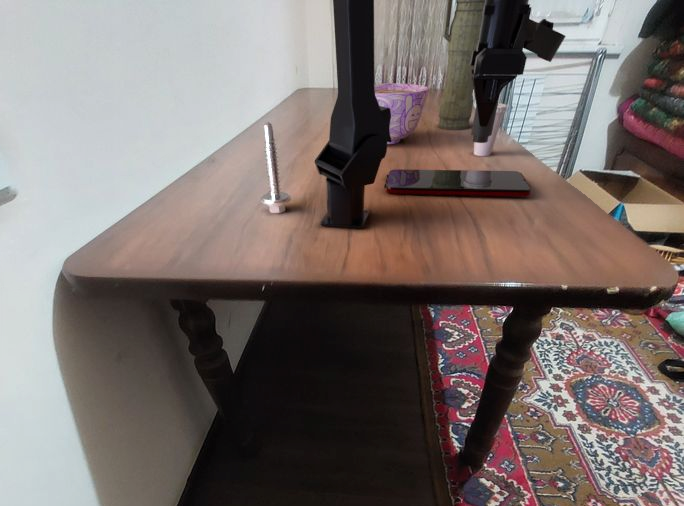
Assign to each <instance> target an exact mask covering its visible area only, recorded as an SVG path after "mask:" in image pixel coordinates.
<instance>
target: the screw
mask: <svg viewBox="0 0 684 506" xmlns="http://www.w3.org/2000/svg"><path fill="white" fill-rule="evenodd" d="M263 135H264V143H263V144H264V147H263V148H264V149H265V151H264V152H265V155H264V156H265V158H266V159H265V161H266V166H267V167H266V169H267V172H266V173H267V177H268V179H267V181H268V185H269V187H268V189H269V191H268V192H267V193H264V194H263V195H262V197H260V202H261V203H262V204H264V205H267V206H268V211H269V212H270V213H271V214H281V213H284V212H286V204H288V203H289V202H291V201H292V197H291V195H290V194H289V193H288V192H284V191H281V190H282V188H281V184H280V182H281V180H280V176H279V175H280V172H279V171H280V169H279V164H278V162H279V160H278V158H279V157H278V156H277V155H278V152H277V149H278V148H277V147H276V146H277V143H276V139H275V138H274V129H273V124H272V123H271V122H269V121H266V123H264V125H263Z"/></svg>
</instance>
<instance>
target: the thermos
mask: <svg viewBox="0 0 684 506" xmlns="http://www.w3.org/2000/svg"><path fill="white" fill-rule="evenodd" d="M453 2H454V1H453V0H446V9H445V10H446V11H445V18H444V26H443V35H442V36H443V38H444V39H445V40H446V41H447V42H448V43H447V55H448V57H447V65H446V73H445V81H444V88H443V93H442V96H441V98H440V103H439V104H440V105H439V113H438V118H439V119H438V125H437V127H438V128H439V129H444V130H455V131H458V130H466V129H468V128H469V127H470V120H471V117H472V113H473V108H474V107H473V106H474V100H475V99H474V88H473V81H472V75H471V69H474V67H475V65H474V66H471V65H470V63H471V56H472V51H473V50H474V49H475V48H476V47H477V42H478V40H479V34H480V28H481V23H482V17H483V16H482V11H483V6H484V5H485V0H455V5H456V6H455V10H454V13H453V14H454V15H453V18H452V21H451V16H452V8H453Z"/></svg>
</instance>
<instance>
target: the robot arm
mask: <svg viewBox="0 0 684 506" xmlns="http://www.w3.org/2000/svg"><path fill="white" fill-rule="evenodd" d="M529 1H530V0H485V5H484V6H483V11H482V16H483V17H482V23H481V28H480V34H479V40H478V42H477V47H476V48H475V49H474V50H473V51H472V56H471V63H470V65H471V66H474V65H475V67H474V69H471V75H472V81H473V88H474V89H473V95H474V100H475V105H476V104H477V110H478V117H479V124H480V126H481V127H486V126H487V125H488V123H489V120H490V118H491V115H492V113H493V110H494V108H495V106H496V103H497V101H498V98H499V99H500V97H501V94H502V91H503V89H504V88H505V87H506V86H507V85H509V84H510V83H511V82H512V81H513V80H515V79H516V78H517V77H518V76H522V75H524V72H525V68H526V63H527V58H528V57H527V56H526V54H525V52H524V50H527V51H529V52H531V53H533V54H535V55H536V56H537V57H538V58H540V59H541V60H544V61H546V62H549V63H551V62H552V60H554V57H555V56H556V54H557V52H558V51H559V49H560V47H561V45H562V44H563V42H564V40H565V38H566V35H564V34H563V33H560V32H559V31H557V30H554V24H555V23H554V22H552V21H550V20H547V18H542V19H541V20H540V21H539V22H538V21H535V20H533V19H532V18H530V17H531V12H532V7H531V4H530V3H529ZM332 6H333V8H332V9H333V28H334V45H335V62H336V63H335V64H336V78H337V97H336V101H335V104H334V106H333V110H332V112H331V116H330V123H329V137H328V138H329V139H328V141H327V143H326V144H325V145H324V147H323V148H322V149H321V151H320V152H319V154H318V155H317V156H316V157H315V158H314V165H315V168H316V170H317V173H318V175H320V176H324V177H325V191H326V193H325V195H326V213H325V215H324V216H323V217H322V219H321V221H320V226H321V227H330V228H331V227H332V228H345V229H346V228H347V229H357V230H362V229H363V228H364V227H365V225H366V222H367V220H368V218H369V216H370V210H367V209H365V193H366V191H365V190H366V186H370V185H373V184H375V181H376V177H377V175H378V172H379V170H380V166H381V163H382V161H383V159H385V157H386V155H387V151H388V144H387V142H391V141H392V140H391V137H390V130H389V128H390V120H391V111H390V108H387V107H383V106H379V103H378V101H377V98H376V95H375V84H376V83H375V80H376V79H375V77H376V76H375V0H332ZM499 96H500V97H499Z"/></svg>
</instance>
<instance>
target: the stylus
mask: <svg viewBox="0 0 684 506" xmlns="http://www.w3.org/2000/svg"><path fill="white" fill-rule="evenodd" d="M500 97H501V95H500V96H499V98H498V101H497V103H496V106H495V108H494V110H493V113H492V115H491V118H490V120H489V123H488V125H487V126H486V127H481V126H480V124H479V117H478V110H477V104H476V103H475V109H476V110H475V109H474V116H473V122H472V126H471V127H472V128H471V133H470V134H471V136H472V142H473V143H474V142H476V143H486V142H488V137H489V136H491V135H492V130H493V125H494V121H495V116H496V111H497V106H498V103H499V101H500Z"/></svg>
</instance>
